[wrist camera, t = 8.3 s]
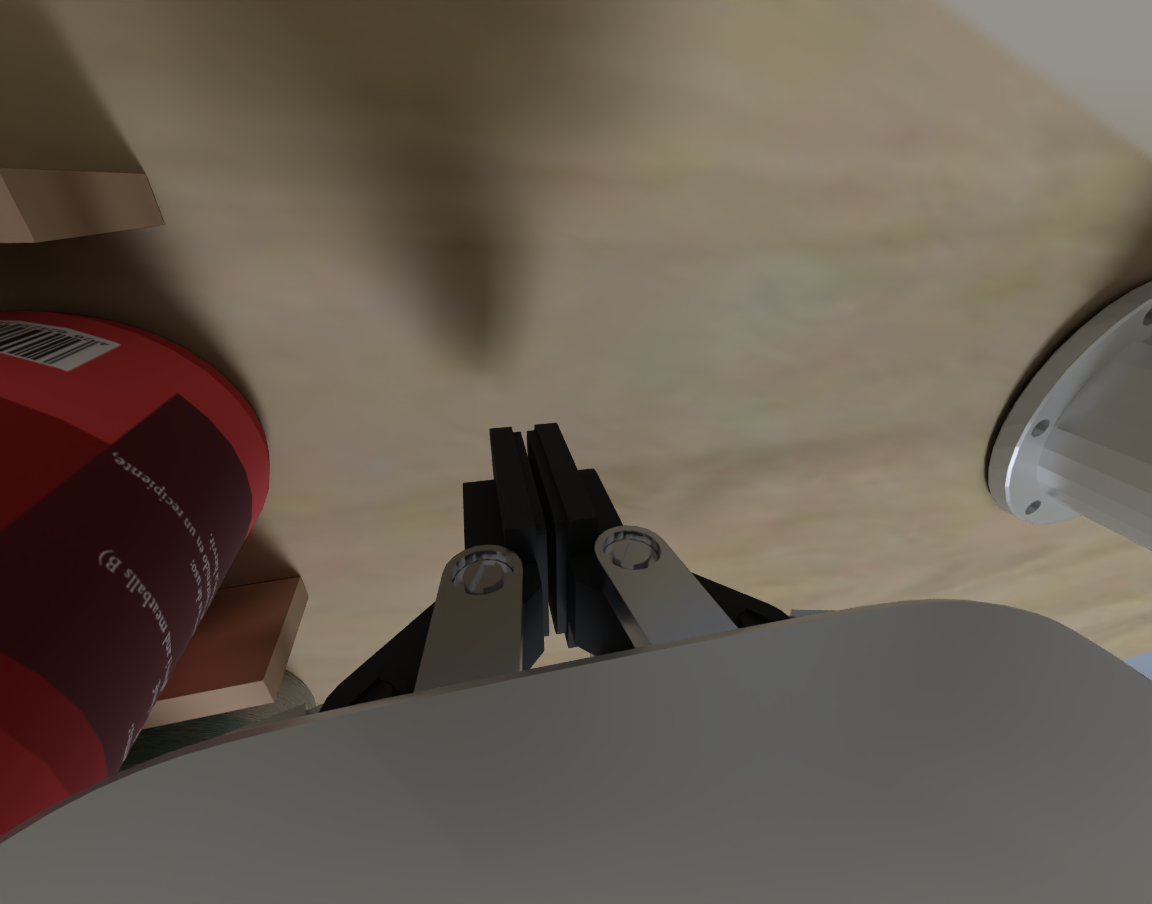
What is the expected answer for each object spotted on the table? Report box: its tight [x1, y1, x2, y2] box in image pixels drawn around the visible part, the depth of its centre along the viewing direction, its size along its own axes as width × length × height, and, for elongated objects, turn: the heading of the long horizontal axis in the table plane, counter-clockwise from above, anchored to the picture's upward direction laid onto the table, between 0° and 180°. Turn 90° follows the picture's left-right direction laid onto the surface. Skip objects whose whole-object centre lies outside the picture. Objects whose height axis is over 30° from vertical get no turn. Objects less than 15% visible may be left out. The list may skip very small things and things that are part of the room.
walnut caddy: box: [0, 168, 308, 730], centre depth 13 cm, size 11×25×4 cm, turn 179°
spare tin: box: [118, 670, 316, 773], centre depth 14 cm, size 8×8×11 cm
